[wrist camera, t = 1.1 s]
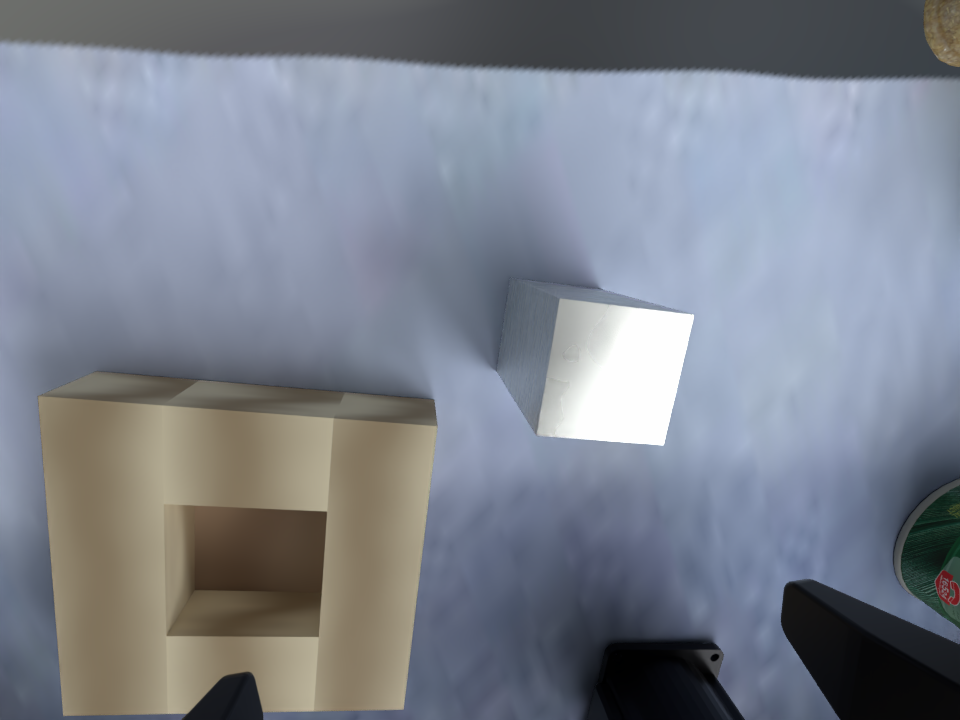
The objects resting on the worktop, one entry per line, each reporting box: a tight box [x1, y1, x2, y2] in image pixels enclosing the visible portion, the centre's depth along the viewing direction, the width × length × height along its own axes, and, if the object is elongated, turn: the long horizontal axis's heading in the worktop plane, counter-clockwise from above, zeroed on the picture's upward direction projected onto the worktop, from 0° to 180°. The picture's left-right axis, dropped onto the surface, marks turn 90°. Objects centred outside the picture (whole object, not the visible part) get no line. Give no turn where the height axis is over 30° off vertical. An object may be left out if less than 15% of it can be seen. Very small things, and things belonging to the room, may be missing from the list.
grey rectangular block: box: [496, 278, 694, 445], centre depth 17 cm, size 4×4×7 cm
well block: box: [38, 371, 437, 716], centre depth 20 cm, size 13×13×3 cm
